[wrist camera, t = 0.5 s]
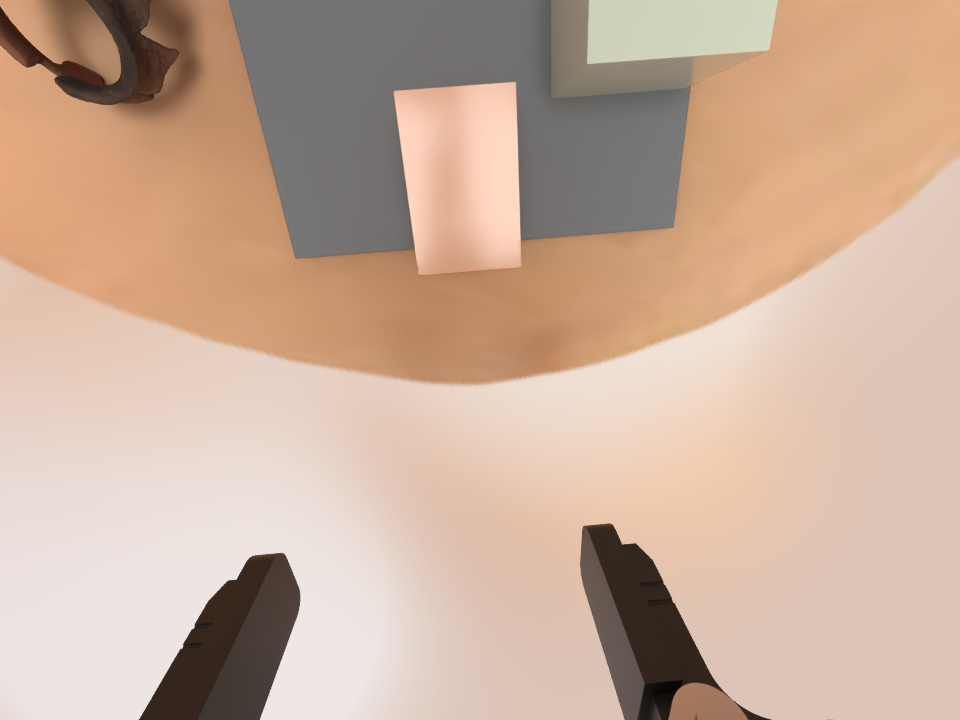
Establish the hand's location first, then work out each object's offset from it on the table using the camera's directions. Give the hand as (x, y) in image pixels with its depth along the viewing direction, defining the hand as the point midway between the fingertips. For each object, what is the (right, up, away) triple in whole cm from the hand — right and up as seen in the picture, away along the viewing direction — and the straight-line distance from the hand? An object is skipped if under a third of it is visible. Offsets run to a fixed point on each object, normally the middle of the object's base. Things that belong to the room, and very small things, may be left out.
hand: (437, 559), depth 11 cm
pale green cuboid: (+10, +26, +15) cm, 32 cm away
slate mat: (+1, +22, +17) cm, 28 cm away
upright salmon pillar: (0, +18, +18) cm, 25 cm away
